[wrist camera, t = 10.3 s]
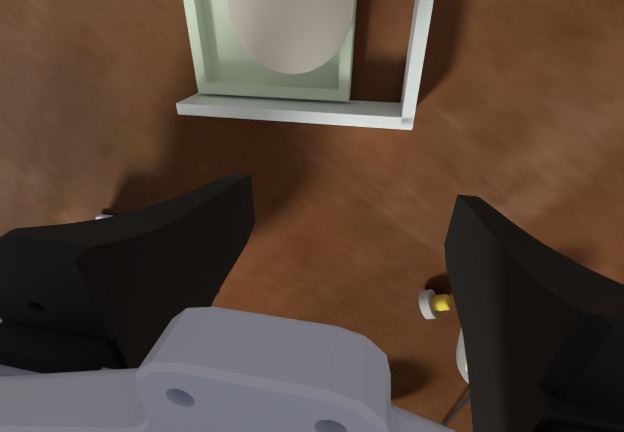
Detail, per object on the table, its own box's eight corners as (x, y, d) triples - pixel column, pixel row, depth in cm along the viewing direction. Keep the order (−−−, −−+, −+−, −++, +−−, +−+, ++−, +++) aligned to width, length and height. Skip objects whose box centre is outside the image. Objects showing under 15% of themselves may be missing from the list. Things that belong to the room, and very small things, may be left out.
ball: (225, 70, 18) (257, 90, 14) (206, -64, 15) (238, -92, 11) (320, 61, 20) (373, 76, 16) (318, -59, 17) (383, -81, 13)
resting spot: (207, 88, 22) (198, 93, 21) (179, -104, 17) (165, -110, 16) (350, 96, 20) (348, 101, 19) (364, -111, 15) (362, -119, 14)
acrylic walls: (202, 101, 22) (177, 114, 20) (173, -79, 17) (137, -93, 15) (409, 113, 20) (412, 129, 18) (441, -87, 15) (451, -104, 13)
